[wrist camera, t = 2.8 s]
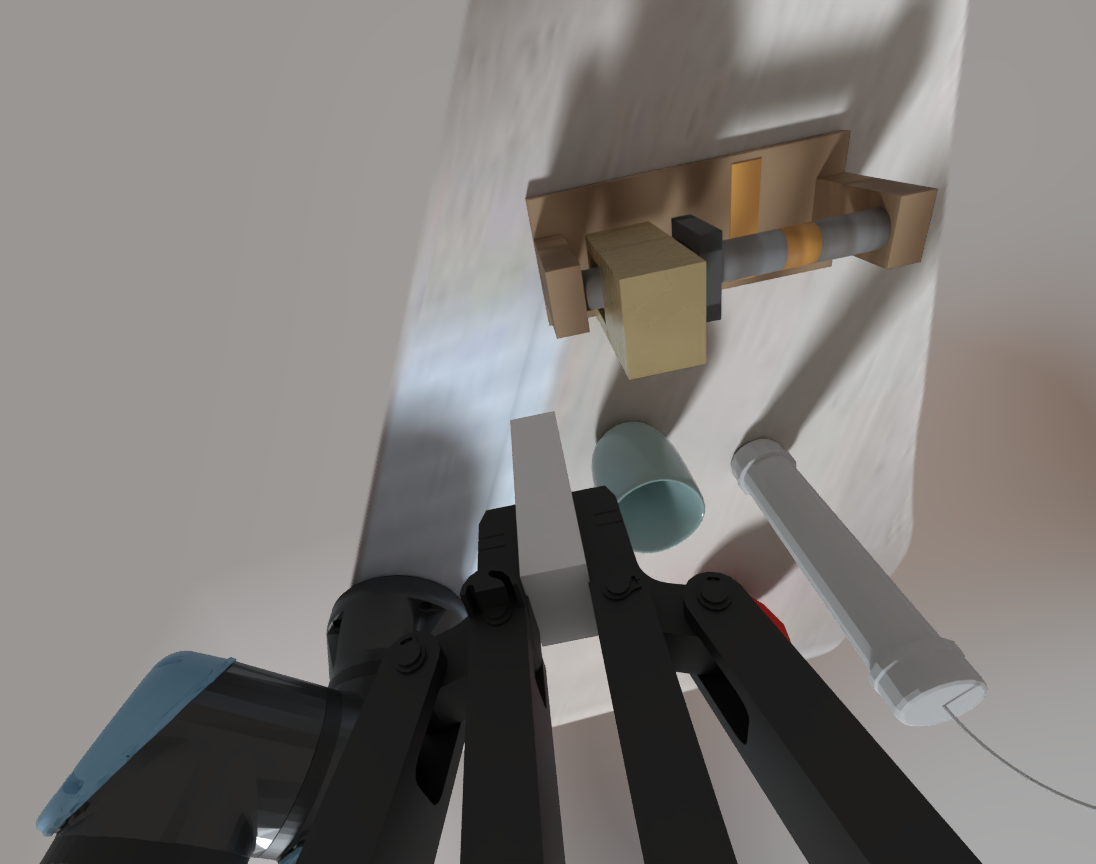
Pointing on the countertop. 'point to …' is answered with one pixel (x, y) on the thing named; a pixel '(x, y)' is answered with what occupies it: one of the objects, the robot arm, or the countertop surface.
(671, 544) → the cup
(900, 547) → the countertop surface
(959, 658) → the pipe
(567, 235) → the rail
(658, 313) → the sleeve
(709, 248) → the dark grey square ring
